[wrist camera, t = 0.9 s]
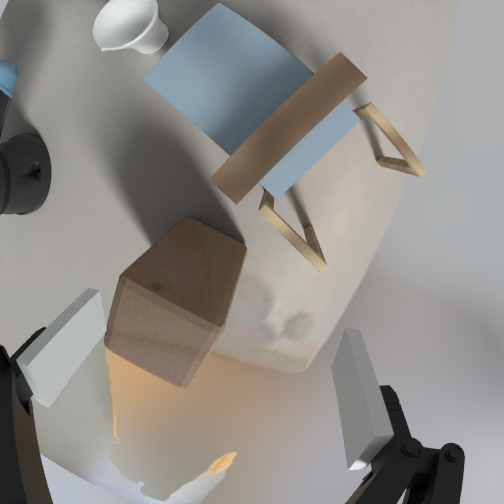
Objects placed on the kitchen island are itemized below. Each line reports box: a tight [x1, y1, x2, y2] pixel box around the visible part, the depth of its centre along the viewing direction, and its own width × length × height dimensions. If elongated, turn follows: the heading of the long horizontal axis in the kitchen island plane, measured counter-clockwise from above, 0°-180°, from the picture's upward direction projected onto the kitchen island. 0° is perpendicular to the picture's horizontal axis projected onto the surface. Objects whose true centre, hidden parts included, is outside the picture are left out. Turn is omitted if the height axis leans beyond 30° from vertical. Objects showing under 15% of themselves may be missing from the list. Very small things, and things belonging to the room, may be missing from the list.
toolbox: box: [258, 102, 426, 272], centre depth 29 cm, size 26×15×12 cm, turn 47°
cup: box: [93, 0, 169, 54], centre depth 27 cm, size 9×9×10 cm
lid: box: [142, 2, 361, 200], centre depth 25 cm, size 18×11×4 cm, turn 47°
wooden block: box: [104, 217, 247, 388], centre depth 33 cm, size 10×10×20 cm
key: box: [209, 52, 367, 205], centre depth 22 cm, size 3×15×4 cm, turn 137°
